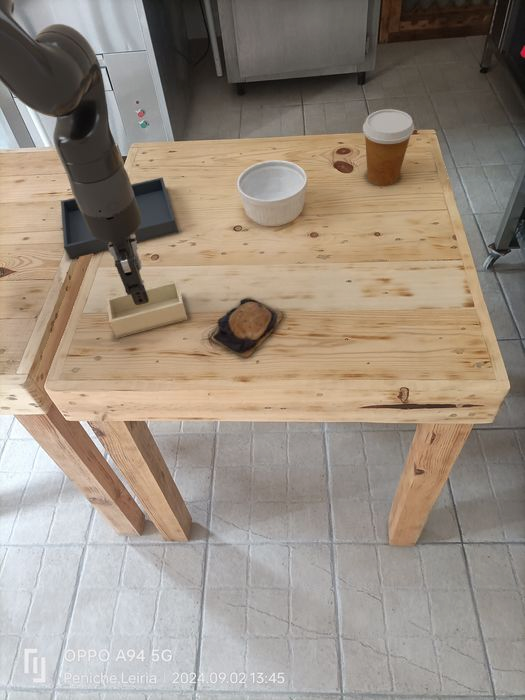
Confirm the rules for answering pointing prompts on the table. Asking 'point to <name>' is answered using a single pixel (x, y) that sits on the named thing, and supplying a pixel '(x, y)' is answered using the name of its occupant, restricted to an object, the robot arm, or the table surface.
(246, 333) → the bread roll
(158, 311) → the beige open box
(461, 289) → the table surface
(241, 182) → the ramekin
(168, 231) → the tray
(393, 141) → the disposable coffee cup
